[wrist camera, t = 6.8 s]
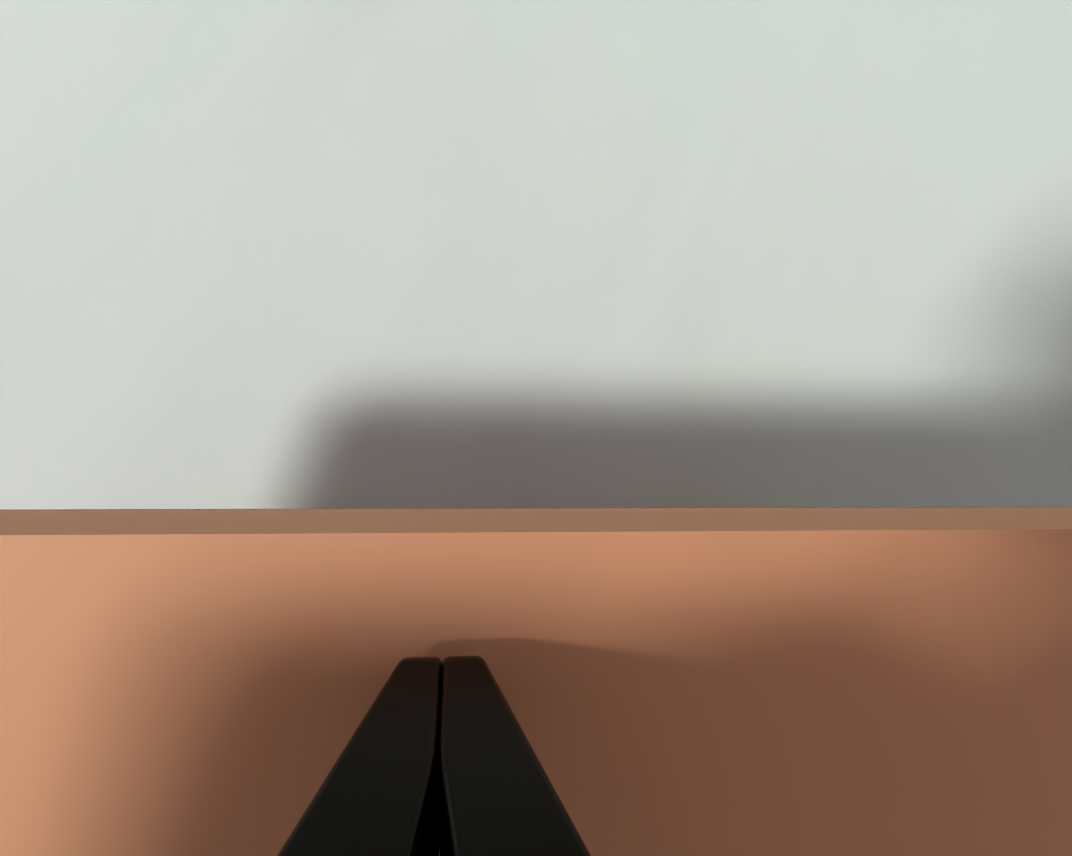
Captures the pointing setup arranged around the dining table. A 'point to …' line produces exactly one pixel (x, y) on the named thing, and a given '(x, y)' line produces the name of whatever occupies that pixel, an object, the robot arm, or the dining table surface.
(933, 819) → the panel
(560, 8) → the dining table surface
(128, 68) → the dining table surface
